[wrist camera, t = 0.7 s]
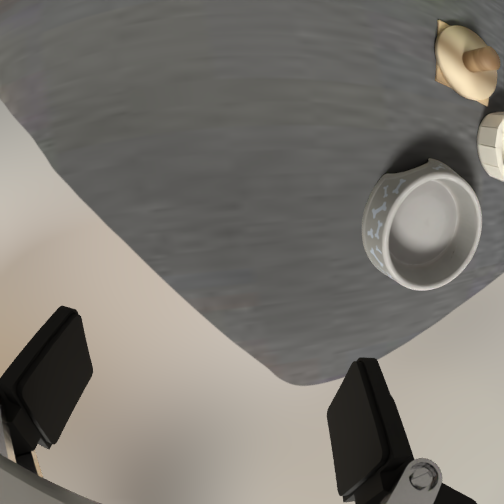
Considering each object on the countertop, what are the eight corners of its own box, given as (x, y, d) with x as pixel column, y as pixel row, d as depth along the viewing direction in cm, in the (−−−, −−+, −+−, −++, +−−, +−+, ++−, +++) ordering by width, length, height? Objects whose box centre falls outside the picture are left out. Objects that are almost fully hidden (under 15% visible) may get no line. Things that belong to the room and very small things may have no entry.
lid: (435, 15, 24) (458, 3, 19) (492, 47, 25) (517, 43, 19) (432, 82, 29) (458, 78, 23) (490, 111, 29) (517, 113, 23)
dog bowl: (472, 250, 38) (491, 265, 33) (376, 295, 42) (388, 315, 37) (456, 146, 32) (479, 150, 28) (344, 187, 36) (356, 197, 31)
